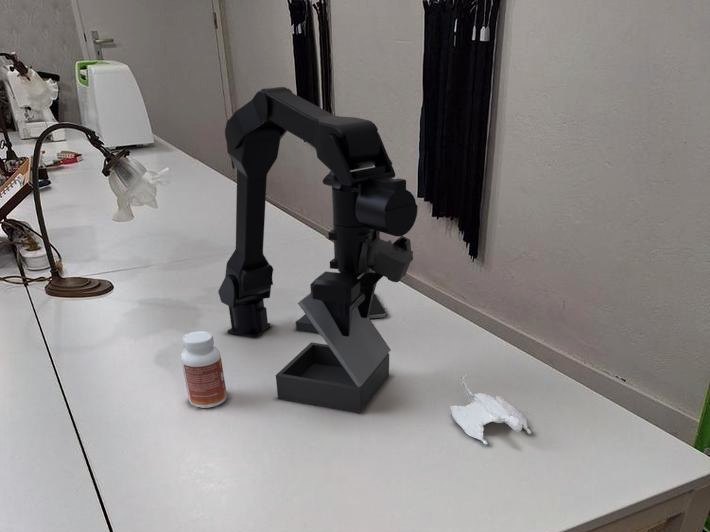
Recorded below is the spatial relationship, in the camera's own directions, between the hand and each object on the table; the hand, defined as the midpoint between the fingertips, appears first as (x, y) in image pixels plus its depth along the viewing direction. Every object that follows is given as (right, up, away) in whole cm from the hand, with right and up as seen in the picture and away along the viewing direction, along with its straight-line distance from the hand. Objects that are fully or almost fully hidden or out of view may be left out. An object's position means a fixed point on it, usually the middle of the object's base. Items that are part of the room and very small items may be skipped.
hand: (355, 326), depth 102 cm
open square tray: (-3, -8, +8) cm, 12 cm away
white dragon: (+20, -15, -2) cm, 25 cm away
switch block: (-5, +7, +30) cm, 31 cm away
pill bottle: (-24, -11, +6) cm, 27 cm away
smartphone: (+2, +13, +38) cm, 40 cm away
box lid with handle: (-1, 0, +1) cm, 2 cm away
